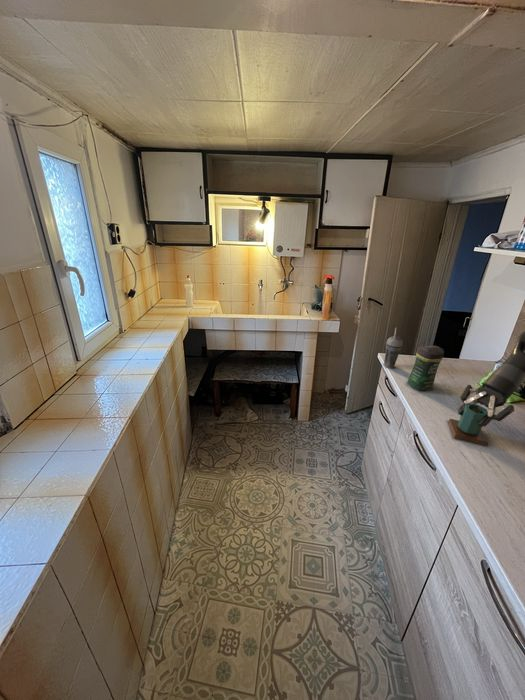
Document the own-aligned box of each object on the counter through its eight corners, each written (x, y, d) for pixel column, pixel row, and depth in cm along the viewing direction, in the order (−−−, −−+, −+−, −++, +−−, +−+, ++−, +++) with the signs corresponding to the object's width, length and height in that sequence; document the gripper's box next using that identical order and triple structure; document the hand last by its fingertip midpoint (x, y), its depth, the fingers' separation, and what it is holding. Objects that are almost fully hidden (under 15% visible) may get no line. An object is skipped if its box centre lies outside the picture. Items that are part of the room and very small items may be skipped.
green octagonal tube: (475, 425, 95) (484, 406, 92) (481, 436, 90) (490, 416, 87) (456, 421, 97) (464, 402, 94) (460, 431, 92) (468, 412, 89)
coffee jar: (417, 392, 116) (430, 352, 108) (403, 383, 123) (415, 344, 115) (435, 389, 119) (449, 350, 111) (421, 380, 126) (433, 342, 118)
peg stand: (477, 428, 97) (488, 405, 93) (486, 446, 89) (497, 422, 85) (448, 421, 100) (456, 399, 96) (454, 438, 92) (463, 414, 88)
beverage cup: (399, 369, 134) (410, 330, 126) (384, 369, 134) (394, 330, 126) (392, 362, 141) (402, 325, 132) (378, 362, 141) (387, 324, 132)
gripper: (531, 397, 87) (495, 438, 87) (482, 376, 99) (450, 411, 99) (530, 386, 83) (491, 429, 83) (479, 365, 95) (445, 402, 95)
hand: (469, 419), depth 91 cm, fingers closed on green octagonal tube, 5 cm apart
